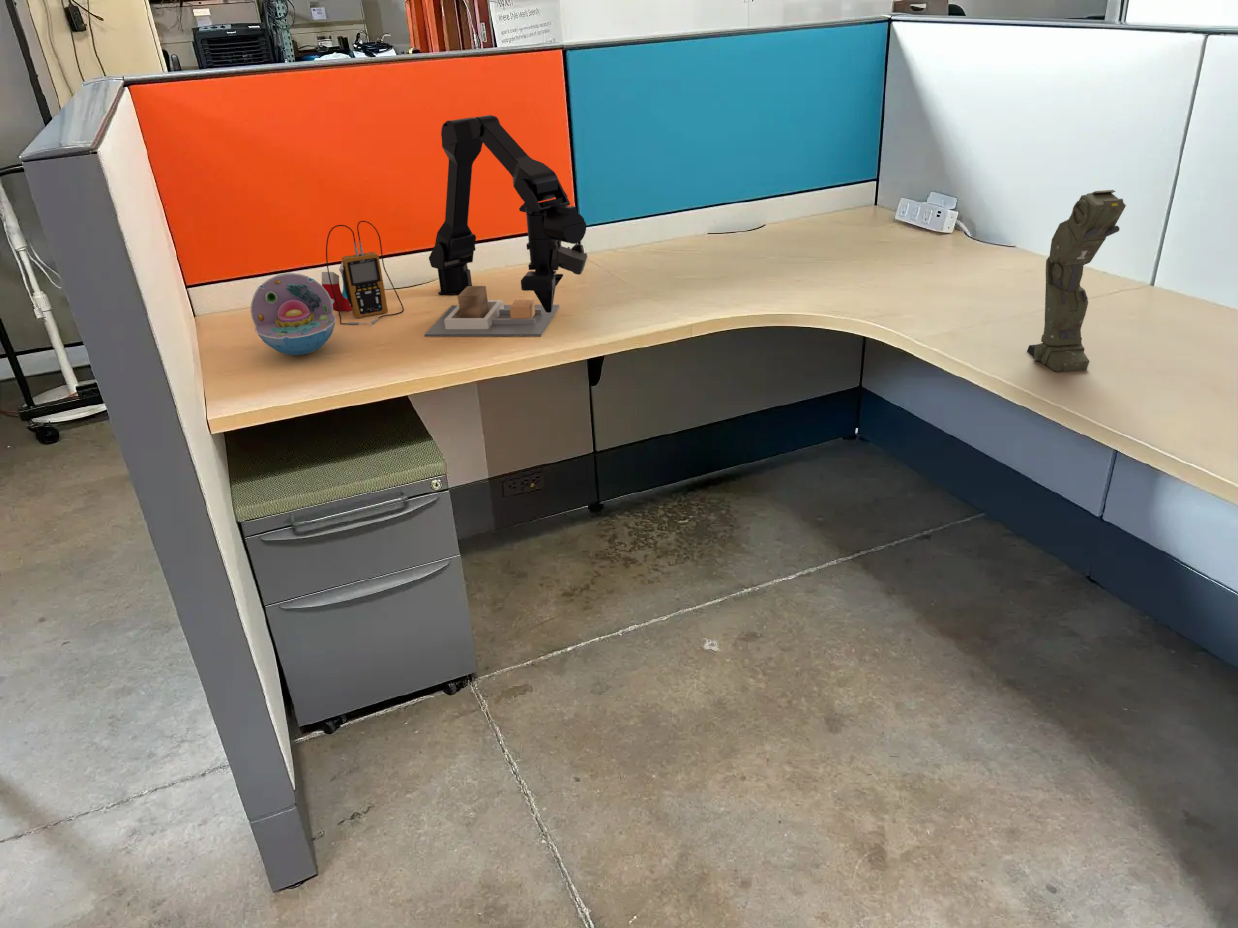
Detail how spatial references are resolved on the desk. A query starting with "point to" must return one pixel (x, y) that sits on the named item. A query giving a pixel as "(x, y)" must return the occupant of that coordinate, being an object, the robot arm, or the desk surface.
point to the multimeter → (363, 282)
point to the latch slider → (522, 309)
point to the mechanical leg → (1073, 279)
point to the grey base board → (491, 322)
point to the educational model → (293, 314)
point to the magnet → (336, 290)
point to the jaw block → (473, 302)
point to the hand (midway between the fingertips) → (549, 312)
